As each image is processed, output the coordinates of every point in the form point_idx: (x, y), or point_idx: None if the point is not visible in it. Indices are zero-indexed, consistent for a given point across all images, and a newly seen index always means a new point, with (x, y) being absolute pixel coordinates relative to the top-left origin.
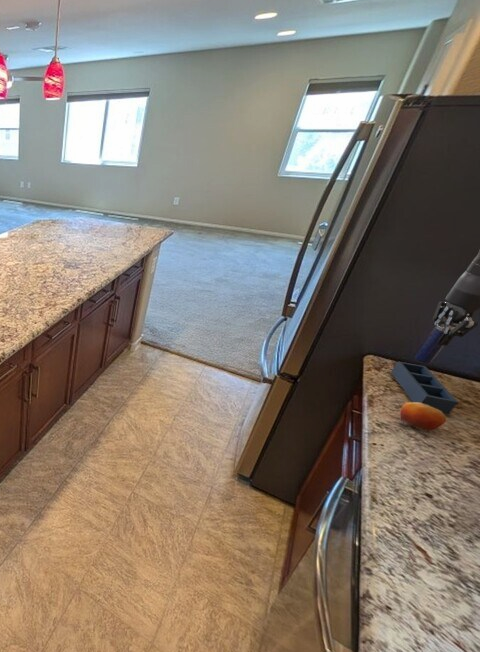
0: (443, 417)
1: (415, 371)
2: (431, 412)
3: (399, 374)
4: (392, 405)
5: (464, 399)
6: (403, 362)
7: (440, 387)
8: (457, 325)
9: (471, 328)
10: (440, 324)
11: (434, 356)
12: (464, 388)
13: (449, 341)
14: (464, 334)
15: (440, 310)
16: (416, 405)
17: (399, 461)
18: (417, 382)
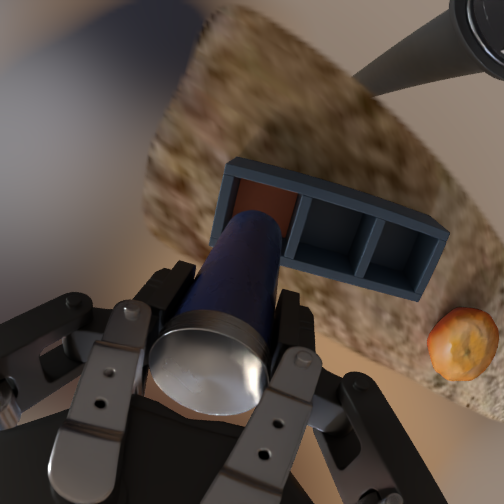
0: (497, 342)
1: (236, 183)
2: (486, 367)
3: None
4: (391, 329)
5: (354, 98)
6: (213, 231)
7: (377, 222)
8: (344, 501)
9: (423, 476)
10: (171, 387)
11: (280, 248)
12: (284, 46)
13: (311, 329)
14: (385, 405)
15: (28, 398)
16: (462, 380)
17: (499, 391)
18: (350, 277)
